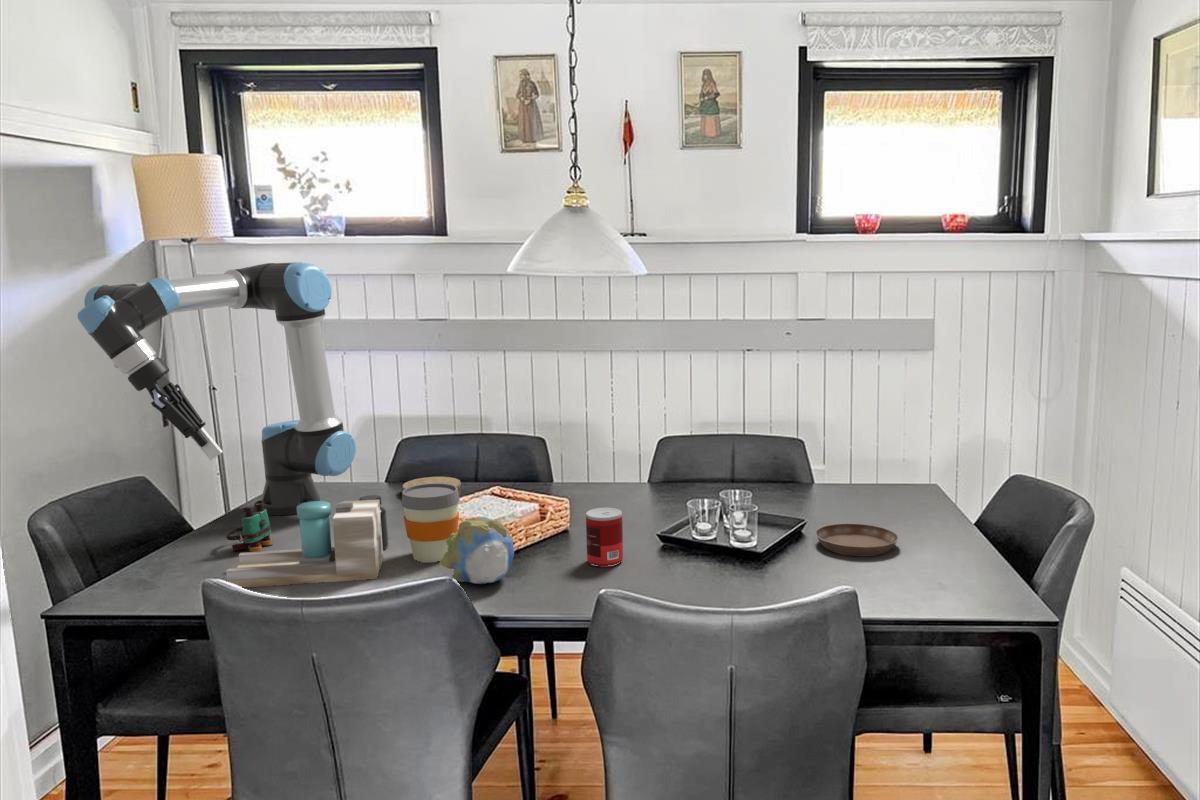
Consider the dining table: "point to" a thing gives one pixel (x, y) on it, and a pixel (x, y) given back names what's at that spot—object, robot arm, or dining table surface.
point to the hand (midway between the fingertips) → (216, 455)
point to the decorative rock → (479, 551)
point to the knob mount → (352, 562)
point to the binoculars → (253, 529)
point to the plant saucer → (856, 539)
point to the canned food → (604, 536)
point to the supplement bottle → (383, 519)
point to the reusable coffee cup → (430, 519)
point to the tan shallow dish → (434, 480)
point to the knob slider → (315, 532)
